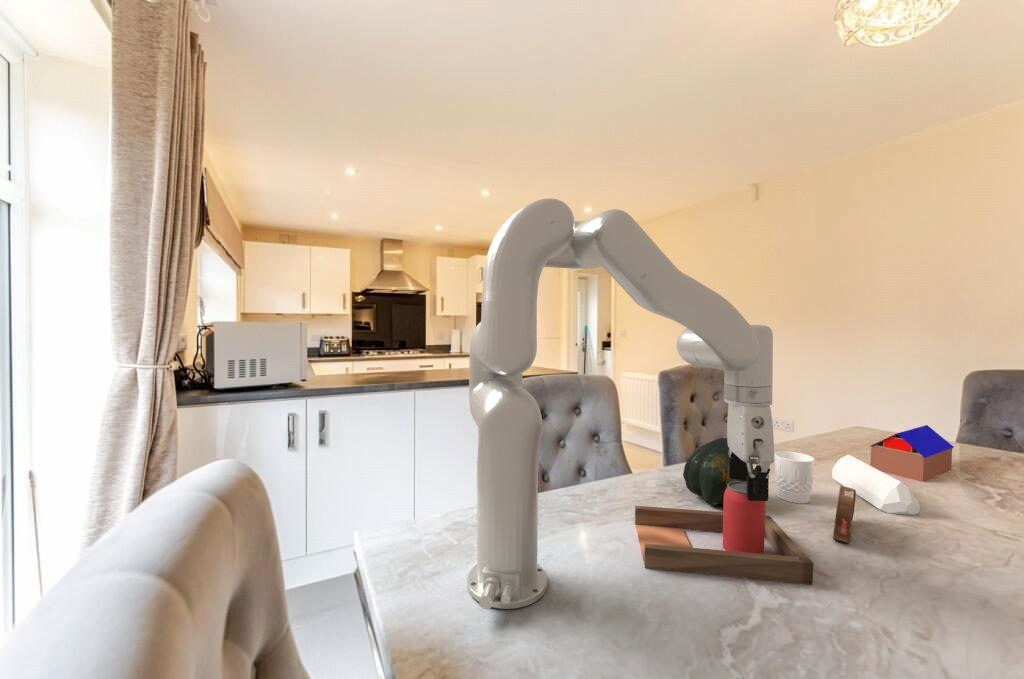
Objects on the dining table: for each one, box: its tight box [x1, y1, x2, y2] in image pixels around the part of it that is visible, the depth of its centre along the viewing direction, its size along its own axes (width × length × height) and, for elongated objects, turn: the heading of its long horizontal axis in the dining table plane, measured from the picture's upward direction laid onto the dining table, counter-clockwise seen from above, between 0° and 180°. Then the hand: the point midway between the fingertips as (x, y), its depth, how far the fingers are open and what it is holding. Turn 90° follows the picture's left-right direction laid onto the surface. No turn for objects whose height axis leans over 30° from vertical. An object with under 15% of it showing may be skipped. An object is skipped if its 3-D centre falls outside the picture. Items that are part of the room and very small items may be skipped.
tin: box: [832, 484, 857, 544], centre depth 85 cm, size 15×3×8 cm, turn 141°
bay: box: [634, 505, 814, 586], centre depth 79 cm, size 17×26×4 cm, turn 80°
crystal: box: [831, 454, 921, 516], centre depth 104 cm, size 7×7×24 cm
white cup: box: [774, 450, 816, 505], centre depth 102 cm, size 8×8×10 cm
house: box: [869, 424, 955, 483], centre depth 123 cm, size 12×20×12 cm, turn 119°
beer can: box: [722, 481, 766, 554], centre depth 78 cm, size 7×7×12 cm
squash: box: [682, 437, 749, 507], centre depth 101 cm, size 14×15×15 cm
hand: (747, 488), depth 78 cm, fingers open, 9 cm apart
